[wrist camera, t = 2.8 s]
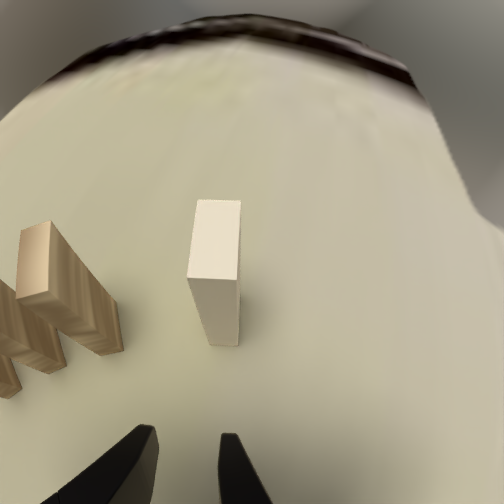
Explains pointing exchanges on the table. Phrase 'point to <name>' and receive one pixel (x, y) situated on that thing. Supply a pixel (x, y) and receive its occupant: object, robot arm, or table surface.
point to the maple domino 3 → (65, 290)
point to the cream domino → (217, 269)
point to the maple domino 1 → (8, 378)
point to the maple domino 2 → (27, 335)
